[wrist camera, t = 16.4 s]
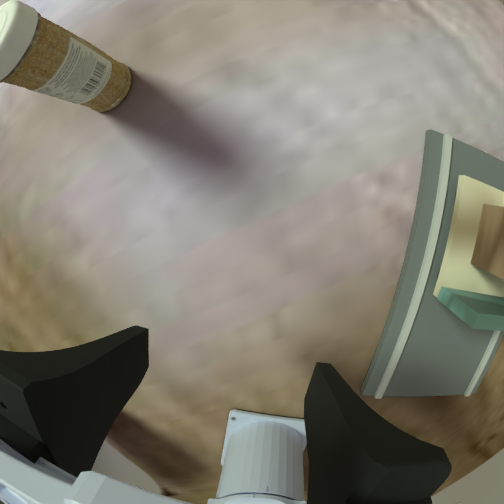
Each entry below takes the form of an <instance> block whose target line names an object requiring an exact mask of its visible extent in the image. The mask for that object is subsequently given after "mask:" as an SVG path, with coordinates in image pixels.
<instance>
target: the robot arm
mask: <svg viewBox="0 0 504 504" xmlns="http://www.w3.org/2000/svg"><path fill="white" fill-rule="evenodd" d="M148 367H149V356H148V329H147V328H143V327H140V326H133V327H130V328H127V329H124V330H122V331H119V332H117V333H114V334H112V335H109V336H106V337H104V338H101V339H98V340H95V341H92V342H89V343H86V344H83V345H79V346H75V347H71V348H66V349H61V350H54V351H45V352H12V351H2V350H0V500H1V501H2V502H4V503H5V504H192V503H188V502H184V501H181V500H177V499H173V498H170V497H166V496H163V495H160V494H157V493H154V492H151V491H148V490H144V489H142V488H139V487H136V486H133V485H131V484H128V483H126V482H123V481H120V480H118V479H116V478H113V477H111V476H108V475H105V474H102V473H99V472H96V471H91V469H92V467H93V464H94V462H95V460H96V457H97V455H98V452H99V450H100V448H101V446H102V444H103V442H104V440H105V437H106V436H107V434H108V432H109V430H110V428H111V426H112V424H113V422H114V421H115V419H116V417H117V416H118V414H119V413H120V412H121V410H122V409H123V407H124V406H125V405H126V403H127V402H128V400H129V399H130V398H131V396H132V395H133V393H134V392H135V391H136V389H137V388H138V386H139V385H140V383H141V381H142V379H143V377H144V375H145V373H146V371H147V369H148ZM233 417H235V418H233ZM306 445H307V449H308V458H309V482H308V499H307V501H304V470H303V452H304V449H305V447H306ZM221 465H222V466H223V468H222V472H221V477H220V481H219V485H218V490H217V494H216V498H215V499H209V500H208V504H432V500H431V497H430V496H431V495H432V494H433V493H434V492H435V491H436V490H437V489H438V488H439V487H440V486H441V485H442V484H443V483H444V481H445V480H446V479H447V478H448V476H449V474H450V472H451V463H450V461H449V459H448V457H447V455H446V453H445V451H444V449H443V448H441V447H438V446H435V445H432V444H429V443H427V442H424V441H421V440H419V439H417V438H415V437H413V436H411V435H409V434H407V433H405V432H403V431H402V430H400V429H398V428H397V427H395V426H394V425H392V424H391V423H389V422H388V421H386V420H385V419H383V418H382V417H381V416H380V415H378V414H377V413H376V412H375V411H373V410H372V409H371V408H370V407H369V406H368V405H367V404H366V403H365V402H364V401H363V400H362V399H361V398H360V397H359V396H358V395H357V394H356V393H355V392H354V391H353V390H352V389H351V387H350V386H349V385H348V384H347V383H346V382H345V380H344V379H343V378H342V377H341V376H340V374H339V373H338V372H337V371H336V369H335V368H334V367H333V366H332V365H331V364H328V363H320V362H317V363H316V366H315V369H314V372H313V375H312V378H311V381H310V384H309V387H308V390H307V393H306V396H305V401H304V419H296V418H287V417H279V416H272V415H265V414H259V413H253V412H247V411H241V410H235V409H233V410H231V411H230V413H229V419H228V424H227V430H226V436H225V442H224V447H223V453H222V459H221ZM457 504H462V503H457Z"/></svg>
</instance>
